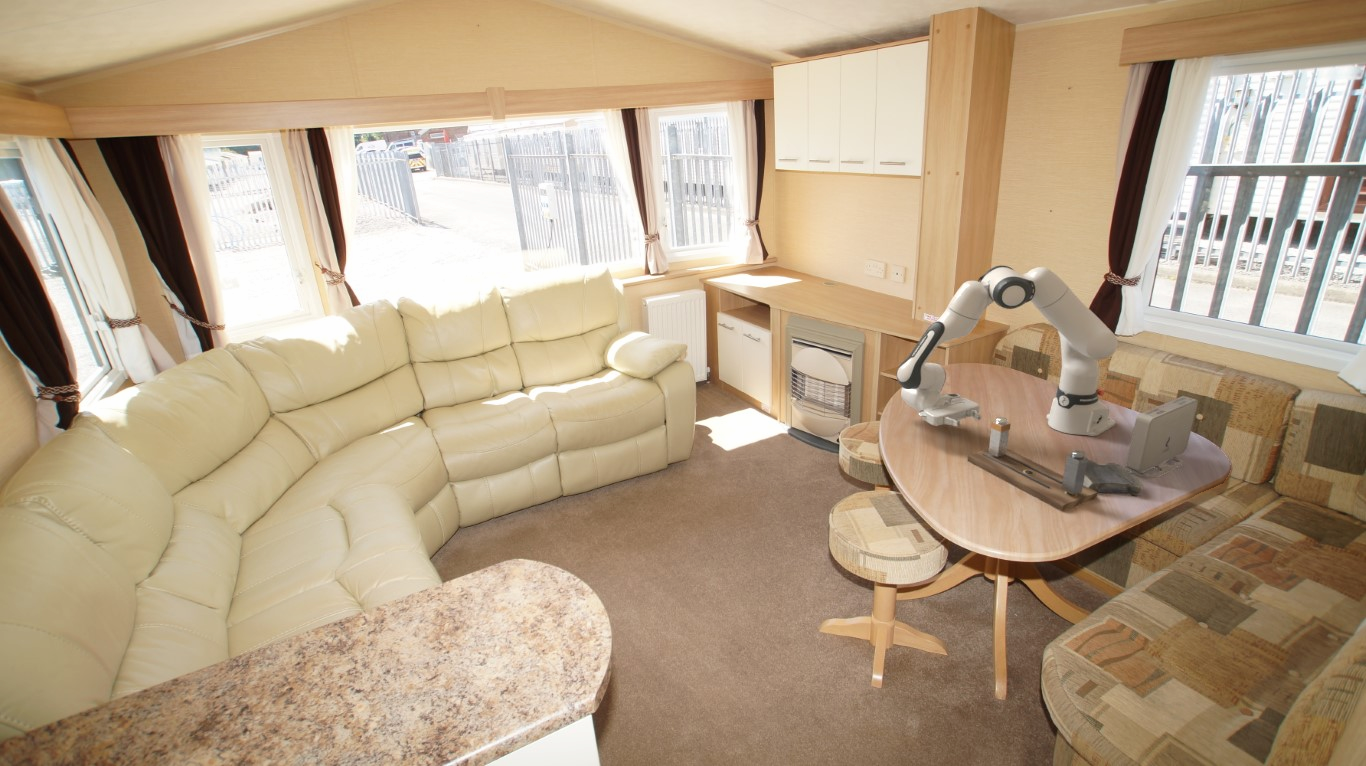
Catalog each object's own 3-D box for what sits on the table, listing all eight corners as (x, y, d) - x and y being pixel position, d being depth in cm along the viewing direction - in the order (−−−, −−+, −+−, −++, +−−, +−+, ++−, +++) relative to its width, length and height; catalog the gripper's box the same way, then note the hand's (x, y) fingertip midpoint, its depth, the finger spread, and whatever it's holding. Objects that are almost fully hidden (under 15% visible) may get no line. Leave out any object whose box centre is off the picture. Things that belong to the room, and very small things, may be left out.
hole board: (999, 450, 211) (1000, 443, 210) (1096, 498, 182) (1098, 490, 181) (967, 460, 207) (968, 453, 206) (1061, 511, 177) (1063, 503, 176)
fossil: (1143, 498, 181) (1146, 486, 180) (1081, 493, 185) (1083, 482, 184) (1125, 471, 195) (1127, 461, 193) (1067, 468, 199) (1069, 457, 198)
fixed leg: (1069, 489, 184) (1076, 448, 179) (1081, 494, 180) (1088, 453, 176) (1060, 492, 182) (1067, 451, 178) (1072, 498, 179) (1079, 456, 174)
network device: (1145, 483, 188) (1159, 422, 180) (1114, 471, 195) (1126, 412, 188) (1192, 459, 198) (1207, 401, 191) (1162, 448, 205) (1175, 392, 198)
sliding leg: (996, 451, 206) (1001, 415, 201) (1006, 456, 203) (1011, 419, 198) (987, 454, 205) (992, 418, 200) (997, 459, 202) (1002, 422, 197)
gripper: (916, 404, 219) (945, 418, 207) (961, 392, 226) (992, 406, 214) (914, 420, 221) (944, 436, 209) (959, 408, 228) (990, 423, 216)
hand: (969, 420), depth 212 cm, fingers open, 8 cm apart
